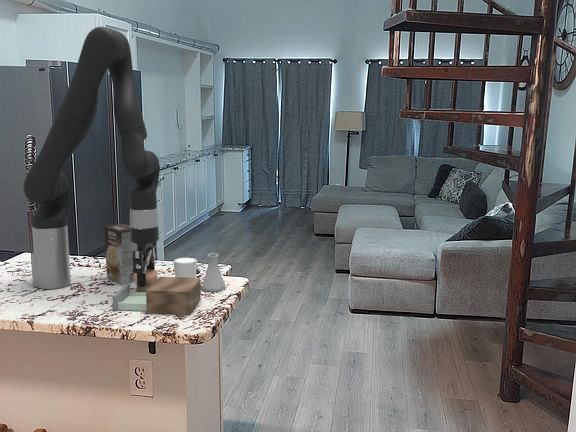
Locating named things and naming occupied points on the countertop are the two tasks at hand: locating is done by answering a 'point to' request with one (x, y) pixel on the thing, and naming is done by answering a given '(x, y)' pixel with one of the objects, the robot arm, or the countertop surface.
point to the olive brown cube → (143, 289)
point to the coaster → (148, 276)
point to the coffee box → (119, 254)
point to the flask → (213, 275)
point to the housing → (173, 296)
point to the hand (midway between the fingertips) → (146, 282)
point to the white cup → (185, 267)
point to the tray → (129, 300)
